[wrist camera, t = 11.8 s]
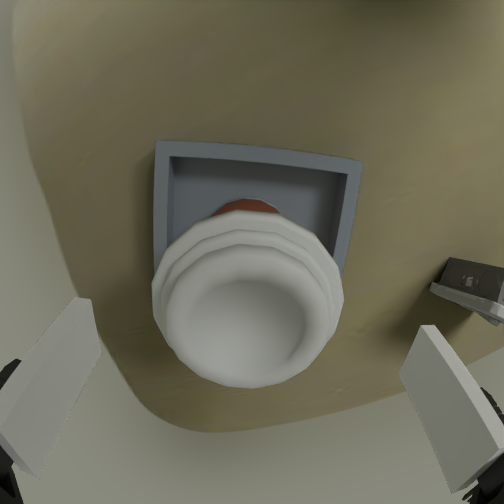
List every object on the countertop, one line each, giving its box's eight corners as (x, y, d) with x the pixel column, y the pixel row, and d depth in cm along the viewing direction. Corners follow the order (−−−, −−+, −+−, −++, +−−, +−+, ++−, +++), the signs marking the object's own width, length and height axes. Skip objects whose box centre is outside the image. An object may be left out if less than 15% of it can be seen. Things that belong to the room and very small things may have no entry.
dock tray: (165, 140, 21) (156, 140, 19) (352, 158, 22) (363, 162, 20) (163, 305, 26) (156, 321, 24) (321, 318, 27) (327, 334, 25)
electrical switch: (424, 288, 26) (482, 334, 17) (446, 239, 25) (513, 271, 16) (475, 310, 28) (526, 350, 19) (495, 269, 26) (551, 301, 17)
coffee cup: (323, 200, 23) (391, 264, 11) (283, 303, 26) (305, 415, 15) (205, 163, 22) (159, 194, 10) (176, 274, 25) (131, 377, 13)
